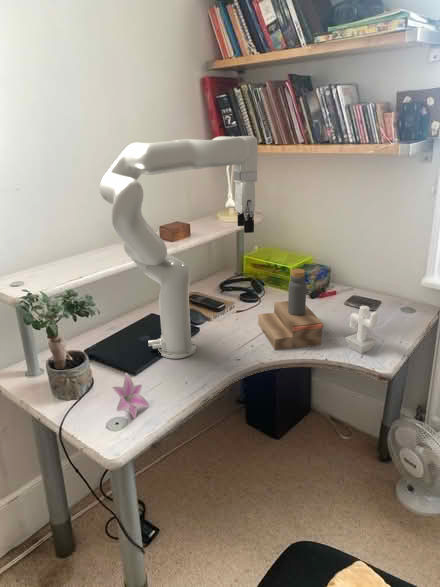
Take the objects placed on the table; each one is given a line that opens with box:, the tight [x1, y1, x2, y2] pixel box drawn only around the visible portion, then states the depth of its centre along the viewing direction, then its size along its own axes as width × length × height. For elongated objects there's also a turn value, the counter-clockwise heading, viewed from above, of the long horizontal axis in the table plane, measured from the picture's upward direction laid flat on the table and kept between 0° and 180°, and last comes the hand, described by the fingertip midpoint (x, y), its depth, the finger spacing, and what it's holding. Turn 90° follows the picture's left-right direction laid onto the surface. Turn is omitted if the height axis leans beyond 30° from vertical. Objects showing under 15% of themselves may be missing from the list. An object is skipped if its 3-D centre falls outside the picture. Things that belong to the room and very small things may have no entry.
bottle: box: [287, 268, 307, 315], centre depth 154 cm, size 6×6×15 cm
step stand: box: [257, 300, 324, 351], centre depth 158 cm, size 16×21×8 cm
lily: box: [111, 372, 151, 420], centre depth 120 cm, size 11×11×9 cm
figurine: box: [344, 305, 379, 355], centre depth 145 cm, size 7×9×15 cm
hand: (245, 229), depth 153 cm, fingers open, 9 cm apart
